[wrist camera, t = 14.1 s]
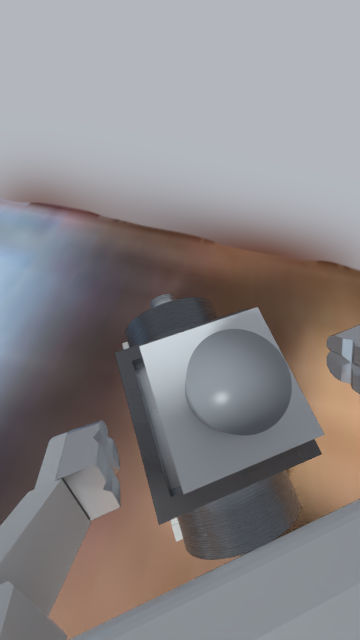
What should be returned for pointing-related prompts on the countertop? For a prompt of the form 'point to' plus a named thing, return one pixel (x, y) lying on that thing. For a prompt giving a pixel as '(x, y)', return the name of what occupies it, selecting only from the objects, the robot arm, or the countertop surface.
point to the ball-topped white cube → (226, 398)
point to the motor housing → (219, 496)
